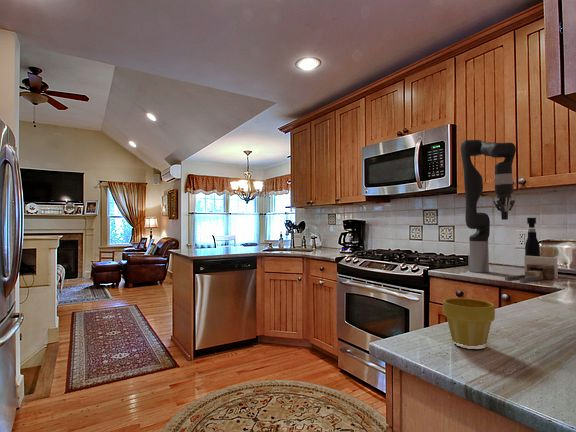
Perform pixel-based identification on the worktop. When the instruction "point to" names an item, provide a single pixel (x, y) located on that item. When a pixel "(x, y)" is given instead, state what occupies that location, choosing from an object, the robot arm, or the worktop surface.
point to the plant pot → (469, 320)
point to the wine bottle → (532, 240)
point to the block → (547, 269)
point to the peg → (534, 274)
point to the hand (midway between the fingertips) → (504, 219)
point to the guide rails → (522, 278)
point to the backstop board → (542, 262)
